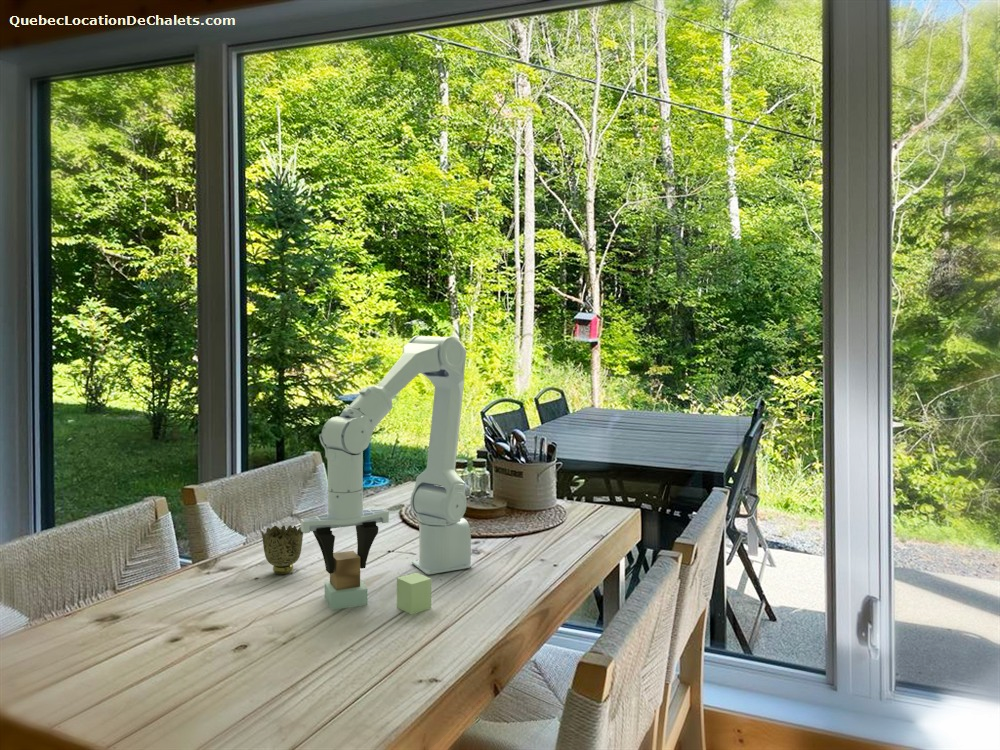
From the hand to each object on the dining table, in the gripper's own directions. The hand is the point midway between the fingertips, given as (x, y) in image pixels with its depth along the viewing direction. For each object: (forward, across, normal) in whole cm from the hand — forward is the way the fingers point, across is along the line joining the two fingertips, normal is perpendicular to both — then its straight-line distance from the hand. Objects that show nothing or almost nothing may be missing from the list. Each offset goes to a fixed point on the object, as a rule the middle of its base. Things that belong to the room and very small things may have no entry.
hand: (345, 569), depth 128 cm
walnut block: (+3, 0, 0) cm, 3 cm away
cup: (+6, +6, -19) cm, 21 cm away
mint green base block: (+6, 0, 0) cm, 6 cm away
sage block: (+6, -9, +8) cm, 13 cm away
